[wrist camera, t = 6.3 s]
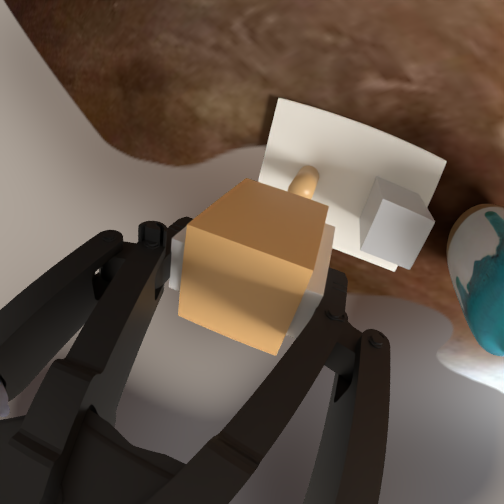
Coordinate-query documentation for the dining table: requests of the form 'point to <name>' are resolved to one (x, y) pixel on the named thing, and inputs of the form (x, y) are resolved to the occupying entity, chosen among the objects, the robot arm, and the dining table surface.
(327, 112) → the plate
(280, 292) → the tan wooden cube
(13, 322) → the robot arm
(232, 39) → the dining table surface
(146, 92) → the dining table surface
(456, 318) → the dining table surface
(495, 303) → the vase
